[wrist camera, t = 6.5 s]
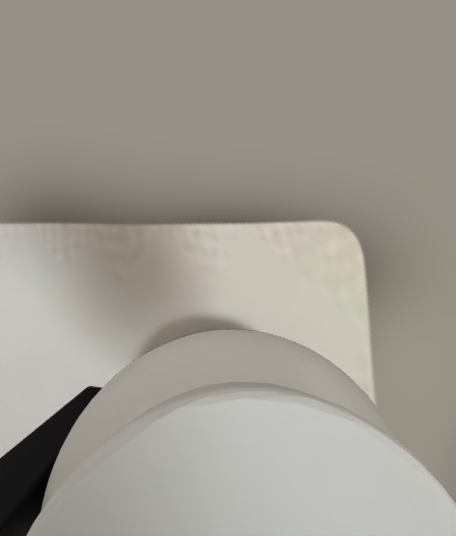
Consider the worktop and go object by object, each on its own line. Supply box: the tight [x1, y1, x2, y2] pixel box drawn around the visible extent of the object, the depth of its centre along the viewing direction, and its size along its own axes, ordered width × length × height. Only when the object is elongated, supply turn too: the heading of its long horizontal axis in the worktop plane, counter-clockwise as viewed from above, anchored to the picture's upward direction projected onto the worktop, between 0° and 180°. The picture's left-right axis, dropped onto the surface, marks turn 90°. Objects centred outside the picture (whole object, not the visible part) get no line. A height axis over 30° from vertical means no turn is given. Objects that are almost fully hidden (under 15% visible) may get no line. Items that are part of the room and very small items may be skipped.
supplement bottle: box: [27, 329, 456, 536], centre depth 9 cm, size 7×7×13 cm
